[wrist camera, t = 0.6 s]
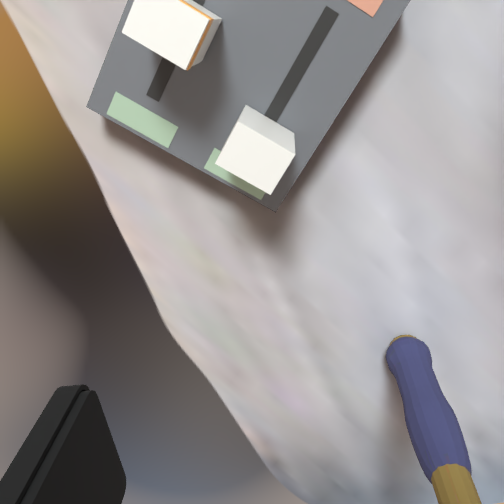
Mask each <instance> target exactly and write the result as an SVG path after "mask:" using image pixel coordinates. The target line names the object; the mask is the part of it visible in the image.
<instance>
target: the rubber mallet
mask: <svg viewBox="0 0 504 504" xmlns="http://www.w3.org/2000/svg"><path fill="white" fill-rule="evenodd" d="M386 360H387V363H388V366H389V369H390V371H391V372H392V373H393V375H394V376H395V378H396V380H397V384H398V387H399V390H400V393H401V397H402V400H403V405H404V413H405V421H406V425H407V429H408V432H409V435H410V438H411V442H412V445H413V447H414V450H415V453H416V455H417V458H418V460H419V463H420V465H421V467H422V469H423V471H424V474H425V475H426V477H427V478H428V480H429V481H430V482H431V484H433V487H434V490H435V494H436V497H437V500H438V503H439V504H482V503H481V501H480V498H479V496H478V493H477V490H476V488H475V485H474V483H473V480H472V477H471V464H470V460H469V456H468V451H467V448H466V445H465V441H464V438H463V435H462V432H461V429H460V426H459V423H458V421H457V418H456V416H455V414H454V412H453V410H452V408H451V406H450V405H449V403H448V402H447V400H446V398H445V397H444V395H443V393H442V391H441V389H440V386H439V384H438V381H437V379H436V376H435V374H434V371H433V369H432V358H431V354H430V351H429V348H428V347H427V345H426V344H425V343H424V342H422V341H420V340H418V339H417V338H416V337H413V336H411V335H401V336H398V337H396V338H394V340H393V341H392V342H391V343H390V346H389V348H388V350H387V353H386Z"/></svg>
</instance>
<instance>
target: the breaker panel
mask: <svg viewBox="0 0 504 504" xmlns="http://www.w3.org/2000/svg"><path fill="white" fill-rule="evenodd" d="M193 1H194V2H196V3H197V4H199V5H201V6H202V7H204V8H206V9H207V10H209V11H210V12H212V13H214V14H215V15H217V16H218V17H220V18H222V21H221V23H220V25H219V27H218V29H217V31H216V33H215V35H214V37H213V39H212V41H211V43H210V46H209V48H208V50H207V52H206V54H205V56H204V58H203V60H202V62H200V63H198V64H196V65H194V66H192V67H191V69H189V70H184V69H182V68H181V67H179V66H177V65H176V64H174V63H172V62H171V61H169V60H167V59H166V58H164V57H162V56H160V55H159V54H157V53H155V52H154V51H152V50H150V49H149V48H147V47H145V46H144V45H142V44H140V43H139V42H137V41H135V40H133V39H132V38H130V37H128V36H127V35H125V34H123V33H122V30H123V27H124V25H125V22H126V20H127V17H128V15H129V12H130V10H131V7H132V5H133V2H134V0H128V1H127V4H126V6H125V9H124V12H123V14H122V17H121V19H120V22H119V24H118V27H117V30H116V32H115V35H114V37H113V40H112V42H111V45H110V47H109V50H108V53H107V55H106V58H105V60H104V63H103V65H102V68H101V70H100V73H99V76H98V78H97V81H96V83H95V86H94V88H93V91H92V94H91V96H90V99H89V101H88V104H87V106H86V107H87V108H89V109H91V110H93V111H95V112H96V113H98V114H100V115H102V116H104V117H105V118H107V119H109V120H111V121H113V122H114V123H116V124H118V125H120V126H122V127H123V128H125V129H127V130H129V131H131V132H132V133H134V134H136V135H138V136H140V137H141V138H143V139H145V140H147V141H148V142H150V143H152V144H154V145H156V146H157V147H159V148H161V149H163V150H165V151H166V152H168V153H170V154H172V155H174V156H175V157H177V158H179V159H181V160H183V161H184V162H186V163H188V164H190V165H192V166H193V167H195V168H197V169H199V170H201V171H202V172H204V173H206V174H208V175H210V176H211V177H213V178H215V179H217V180H219V181H220V182H222V183H224V184H226V185H228V186H229V187H231V188H233V189H235V190H236V191H238V192H240V193H242V194H244V195H245V196H247V197H249V198H251V199H253V200H254V201H256V202H258V203H260V204H262V205H263V206H265V207H267V208H269V209H271V210H272V211H274V212H276V211H277V210H278V208H279V206H280V205H281V203H282V202H283V200H284V199H285V197H286V195H287V194H288V192H289V191H290V189H291V188H292V186H293V184H294V183H295V181H296V180H297V178H298V177H299V175H300V173H301V172H302V170H303V169H304V167H305V166H306V164H307V162H308V161H309V159H310V158H311V156H312V154H313V153H314V151H315V150H316V148H317V147H318V145H319V143H320V142H321V140H322V139H323V137H324V136H325V134H326V132H327V131H328V129H329V128H330V126H331V125H332V123H333V121H334V120H335V118H336V117H337V115H338V114H339V112H340V110H341V109H342V107H343V106H344V104H345V103H346V101H347V99H348V98H349V96H350V95H351V93H352V92H353V90H354V88H355V87H356V85H357V84H358V82H359V81H360V79H361V77H362V76H363V74H364V73H365V71H366V70H367V68H368V66H369V65H370V63H371V62H372V60H373V59H374V57H375V55H376V54H377V52H378V51H379V49H380V48H381V46H382V44H383V43H384V41H385V40H386V38H387V36H388V35H389V33H390V32H391V30H392V29H393V27H394V25H395V24H396V22H397V21H398V19H399V18H400V16H401V14H402V13H403V11H404V10H405V8H406V7H407V5H408V3H409V2H410V0H193Z"/></svg>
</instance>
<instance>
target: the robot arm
mask: <svg viewBox="0 0 504 504" xmlns="http://www.w3.org/2000/svg"><path fill="white" fill-rule="evenodd" d="M125 489H126V476H125V473H124V470H123V467H122V464H121V461H120V458H119V456H118V453H117V450H116V447H115V444H114V442H113V438H112V436H111V433H110V430H109V427H108V424H107V421H106V418H105V416H104V413H103V410H102V407H101V404H100V402H99V399H98V396H97V394H96V392H95V391H93V390H91V391H90V390H89V388H88V387H87V386H86V385H73V386H62V387H59V388H58V389H57V390H56V391H55V392H54V394H53V396H52V397H51V399H50V401H49V402H48V404H47V405H46V407H45V409H44V410H43V412H42V414H41V415H40V417H39V419H38V420H37V422H36V424H35V425H34V427H33V429H32V430H31V432H30V433H29V435H28V437H27V438H26V440H25V442H24V443H23V445H22V447H21V448H20V450H19V452H18V453H17V455H16V456H15V458H14V460H13V461H12V463H11V464H10V466H9V468H8V469H7V471H6V473H5V474H4V476H3V478H2V479H1V481H0V504H121V503H122V500H123V497H124V494H125Z"/></svg>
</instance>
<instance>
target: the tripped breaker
mask: <svg viewBox="0 0 504 504" xmlns="http://www.w3.org/2000/svg"><path fill="white" fill-rule="evenodd" d="M221 21H222V18H220V17H218V16H217V15H215V14H214V13H212V12H210V11H209V10H207V9H206V8H204V7H202V6H201V5H199V4H197V3H196V2H194V1H193V0H134V2H133V5H132V7H131V10H130V12H129V15H128V17H127V20H126V22H125V25H124V27H123V30H122V33H123V34H125V35H127V36H128V37H130V38H132V39H133V40H135V41H137V42H139V43H140V44H142V45H144V46H145V47H147V48H149V49H150V50H152V51H154V52H155V53H157V54H159V55H160V56H162V57H164V58H166V59H167V60H169V61H171V62H172V63H174V64H176V65H177V66H179V67H181V68H182V69H184V70H189V69H191V67H192V66H194V65H196V64H198V63H200V62H202V60H203V58H204V56H205V54H206V52H207V50H208V48H209V46H210V43H211V41H212V39H213V37H214V35H215V33H216V31H217V29H218V27H219V25H220V23H221Z"/></svg>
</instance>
